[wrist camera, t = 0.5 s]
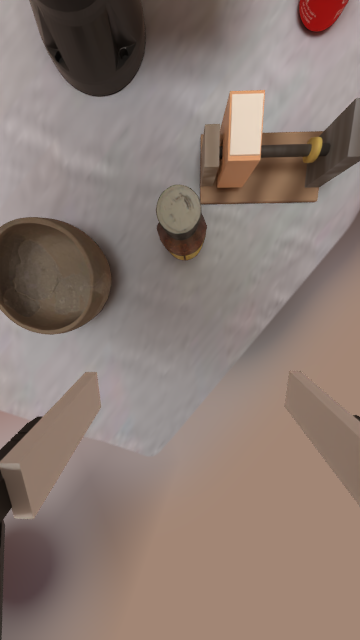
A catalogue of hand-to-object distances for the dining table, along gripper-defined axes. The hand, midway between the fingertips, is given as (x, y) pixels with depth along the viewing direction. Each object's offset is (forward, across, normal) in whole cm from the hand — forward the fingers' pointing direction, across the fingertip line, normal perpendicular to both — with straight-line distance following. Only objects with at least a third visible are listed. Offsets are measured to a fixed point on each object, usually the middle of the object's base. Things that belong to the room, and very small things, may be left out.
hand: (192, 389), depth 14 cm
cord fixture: (+27, +13, +24) cm, 38 cm away
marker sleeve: (+24, +7, +24) cm, 35 cm away
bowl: (+27, -21, +7) cm, 35 cm away
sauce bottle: (+27, 0, +13) cm, 30 cm away
